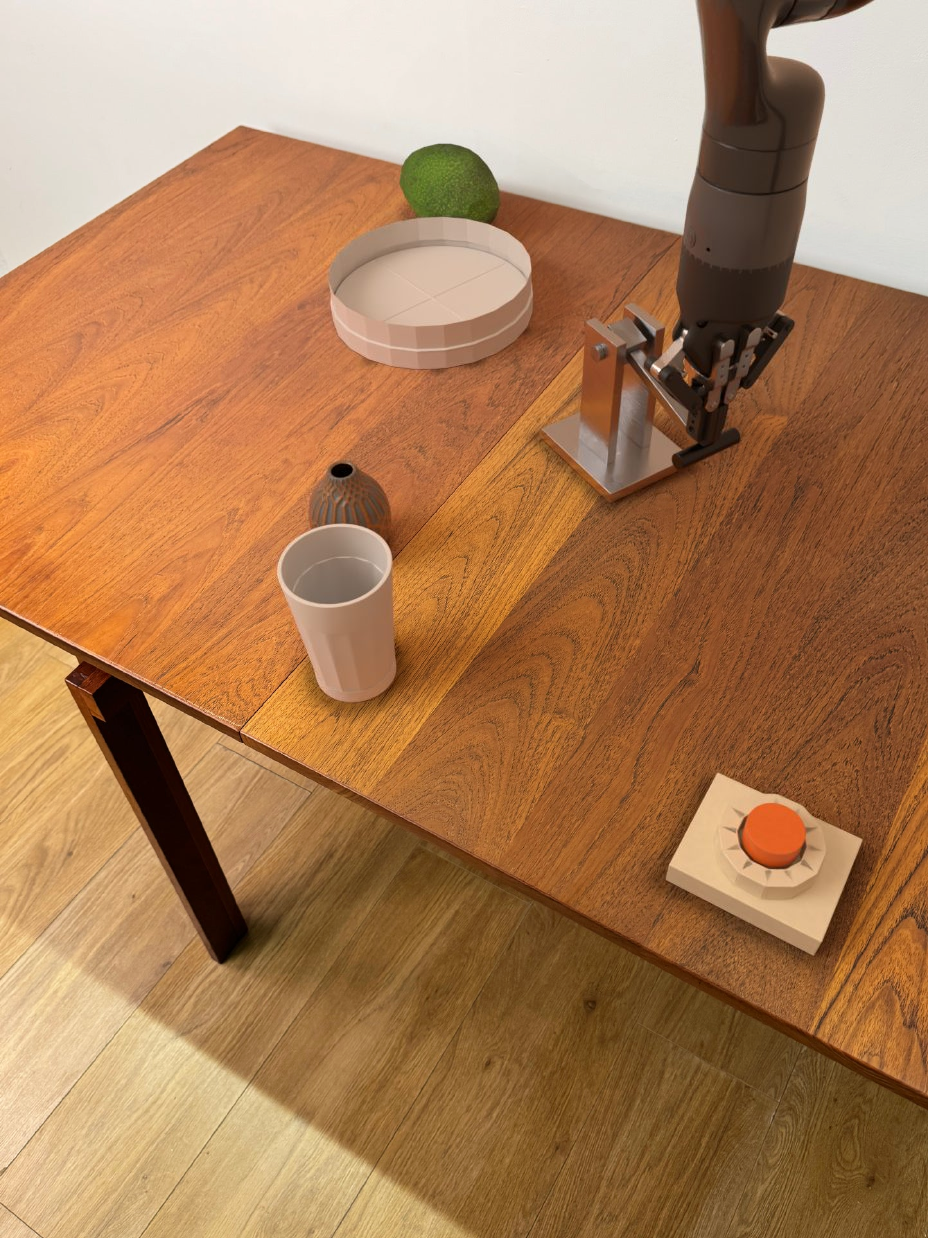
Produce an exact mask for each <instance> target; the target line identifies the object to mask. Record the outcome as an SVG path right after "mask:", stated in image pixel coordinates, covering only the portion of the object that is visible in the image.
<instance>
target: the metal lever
mask: <svg viewBox="0 0 928 1238" xmlns="http://www.w3.org/2000/svg"><path fill="white" fill-rule="evenodd" d="M606 327H607V328H609V329H610V330H611V331H613V332H614V333H615V334H616V335H618V336H619V337H620V338H621V339H623V340H624V341H625V342H626V343H627V344H626V354H625V365H626V364H628V363H629V364H630V365H631V367H632V368H633V369H634V370H635V372H636V373H637V374H638V376H639V377H640V378H641V380H642V381H643V382H644V383H645V385H646V386H647V387H648V389H649V390H650V391H651V393H652V394H653V395H654V396H655V398H656V401H658V403H659V404H660V405H661V407H662V408H663V409H664V411H665V412H666V413H667V415H668V416H669V417H670V418H671V420H672V421H673V422H674V424H675V425H676V426H677V427H678V429H679V430H680V431H681V433H682V434H683V435H684V437H685V438H686V439H687V441H688V442H689V443H690V446H688V447H686V448H683V449H682V450H681V451H679V452H677V453H675V454H673V455H672V463H673V466H674V467H675V468H676V469H677V470H680V471H683V470H685V469H687V468H690V467H691V466H694V465H695V464H698V463H700V462H702V461H704V460H706V459H709V458H710V457H712V456H715V455H716V454H719V453H721V452H723V451H725V450H728V449H729V448H732V447H734V446H736V445H737V444H739V443H741V433H740V431H739V430H738V429H737V428H736V427H735V426H734V427H733V426H730V427H728V428H726V429H723V430H722V432H721V435H720V439H719V440H717V441H715V442H713V443H711V444H708V445H706V446H701V445H700V444H699V443H698V442H696V441H695V440H694V439H693V438H692V437H691V436H690V435H688V434H687V432H686V424H687V417H688V410H687V409H685V408H684V407H683V406H682V405H680V404H679V403H678V402H677V401H675V400H674V399H673V398H672V397H670V396H669V394H668V393H667V392H666V391H665V390H664V389H663V388H662V387H661V386H660V385H659V384H658V383H657V381H656V380H655V379H654V378H653V377H652V376H651V375H650V374H649V373H648V372H647V371H646V370H645V368H644V362H645V360H646V358H647V357H646V356H645V355H644V353H643V352H642V351H643V348H644V346H645V344H646V341H647V340H646V338H645V337H644V336H643V335H642V333H641V332H640V331H639V330H638V328H637V327H636V326H635V324H634V323H633V322H632V321H631V319H630V318H629V317H627V318H624V319H623V318H622V319H620V320H617V321H615V322H612V323H610V324H607V325H606Z"/></svg>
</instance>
